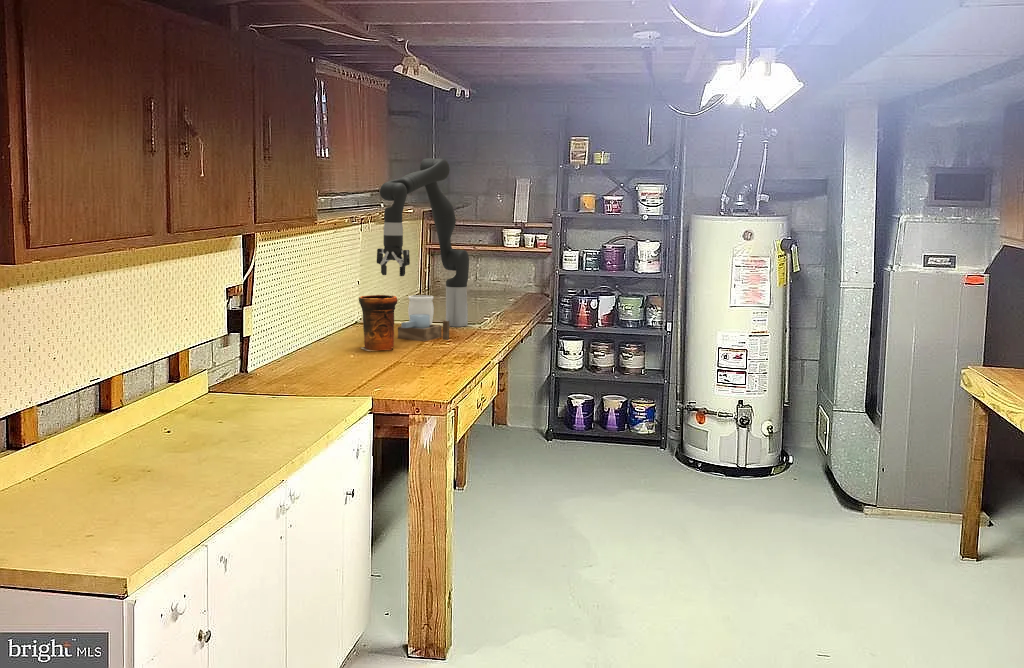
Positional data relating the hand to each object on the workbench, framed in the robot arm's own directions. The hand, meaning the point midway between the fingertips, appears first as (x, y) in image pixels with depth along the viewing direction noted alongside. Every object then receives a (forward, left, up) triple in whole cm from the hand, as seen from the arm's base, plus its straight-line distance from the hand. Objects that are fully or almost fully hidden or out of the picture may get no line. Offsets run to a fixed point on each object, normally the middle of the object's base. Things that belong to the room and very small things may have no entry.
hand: (393, 275), depth 389 cm
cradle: (-8, +10, -26) cm, 29 cm away
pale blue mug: (-4, +7, -25) cm, 26 cm away
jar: (-25, -4, -26) cm, 36 cm away
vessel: (+18, +6, -26) cm, 33 cm away
